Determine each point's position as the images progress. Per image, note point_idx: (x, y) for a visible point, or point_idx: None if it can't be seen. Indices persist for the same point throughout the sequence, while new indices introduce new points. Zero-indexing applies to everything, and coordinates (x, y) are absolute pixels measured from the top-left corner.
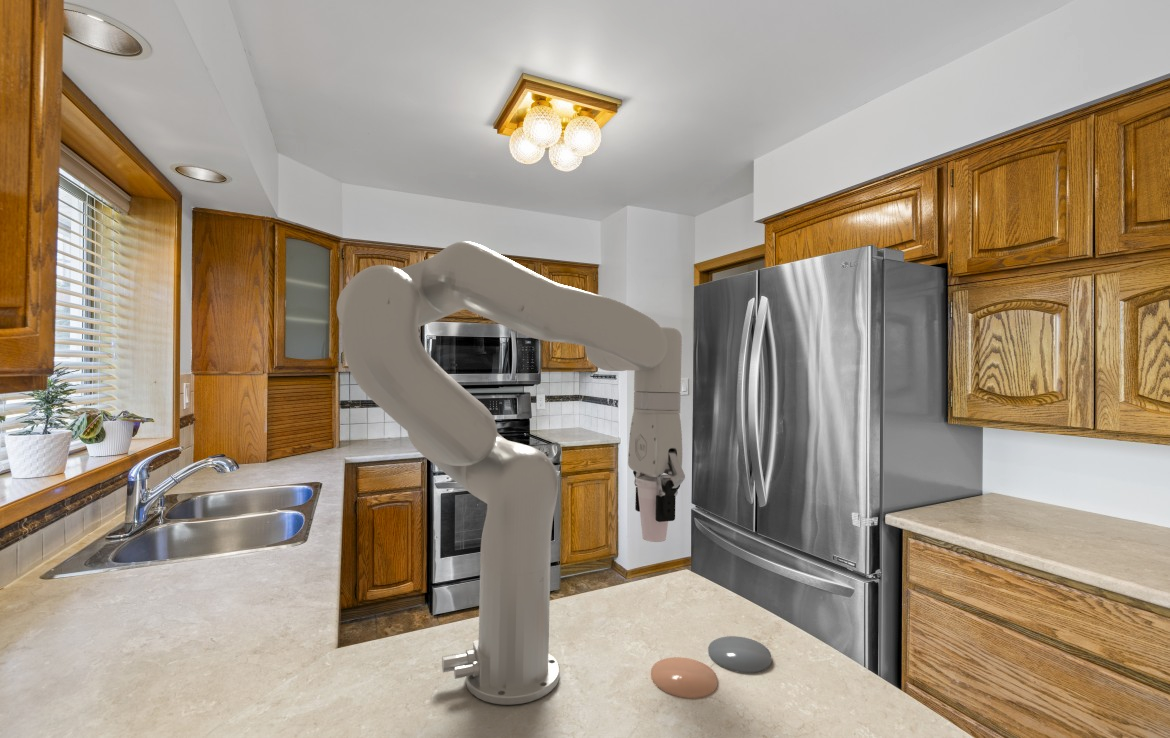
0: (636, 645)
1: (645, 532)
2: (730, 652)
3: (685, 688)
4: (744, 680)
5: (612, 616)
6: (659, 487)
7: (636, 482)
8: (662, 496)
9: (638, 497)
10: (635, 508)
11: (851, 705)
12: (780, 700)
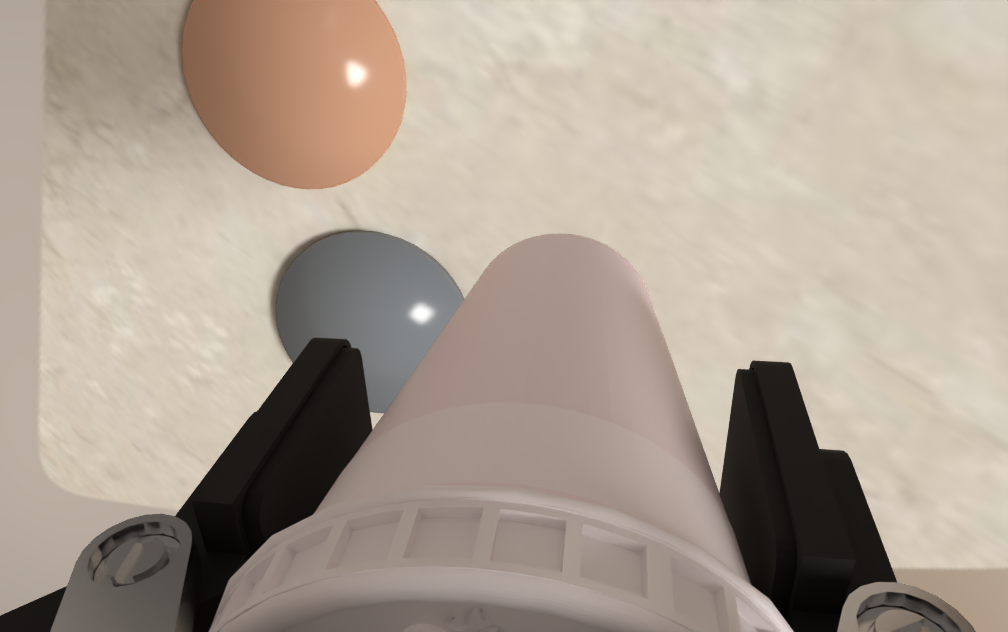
0: (550, 19)
1: (524, 256)
2: (376, 303)
3: (215, 36)
4: (251, 248)
5: (844, 38)
6: (128, 608)
7: (570, 529)
8: (203, 544)
9: (758, 463)
10: (789, 368)
11: (118, 404)
12: (151, 272)
